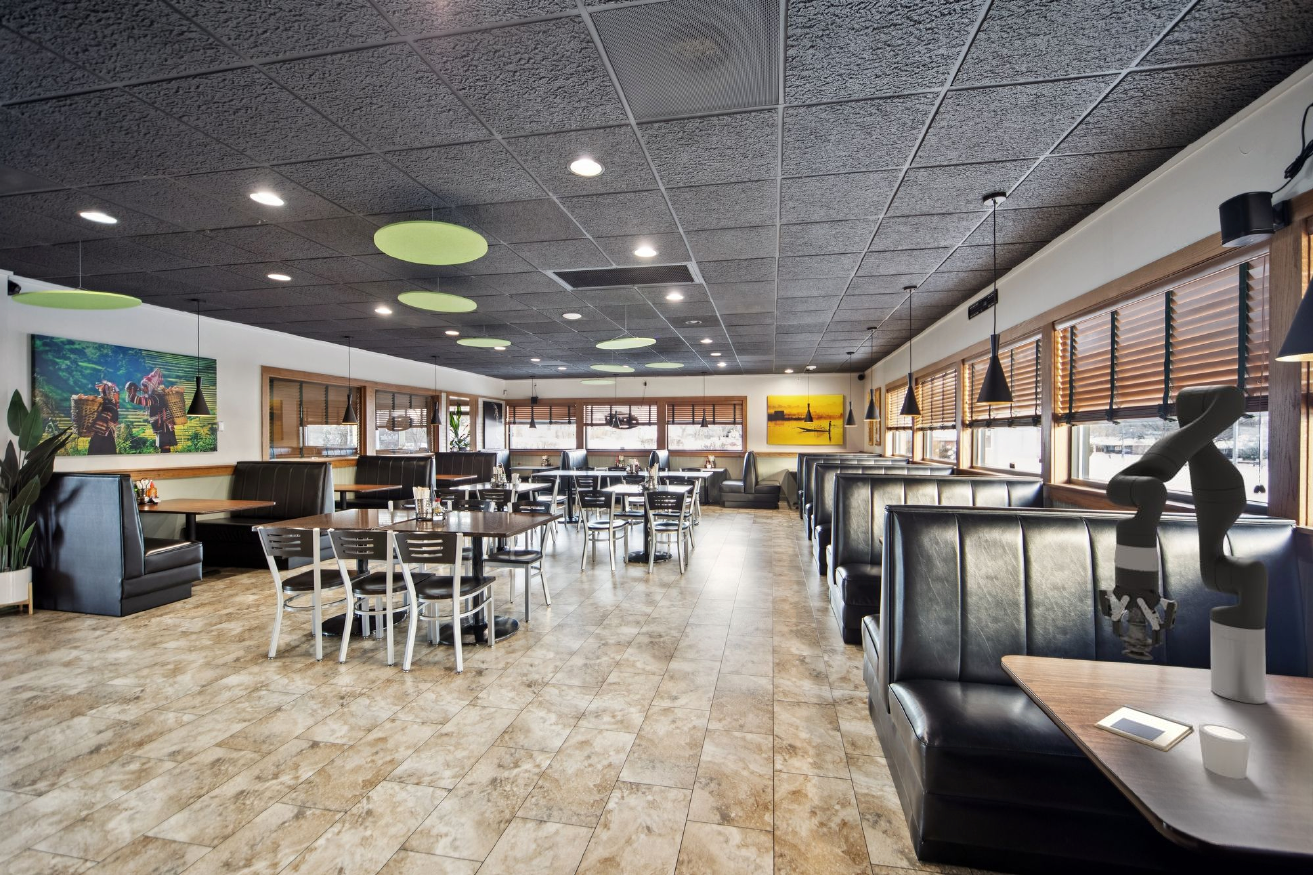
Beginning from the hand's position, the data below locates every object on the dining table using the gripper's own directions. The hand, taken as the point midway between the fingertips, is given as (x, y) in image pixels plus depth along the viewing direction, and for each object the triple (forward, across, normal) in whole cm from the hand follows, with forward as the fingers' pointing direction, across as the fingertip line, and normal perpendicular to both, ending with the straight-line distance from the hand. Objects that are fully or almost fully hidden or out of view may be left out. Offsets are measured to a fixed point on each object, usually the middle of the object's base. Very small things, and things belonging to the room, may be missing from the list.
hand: (1136, 641), depth 127 cm
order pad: (+16, -3, +6) cm, 18 cm away
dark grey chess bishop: (+3, 0, 0) cm, 3 cm away
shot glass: (+17, -17, +13) cm, 27 cm away
